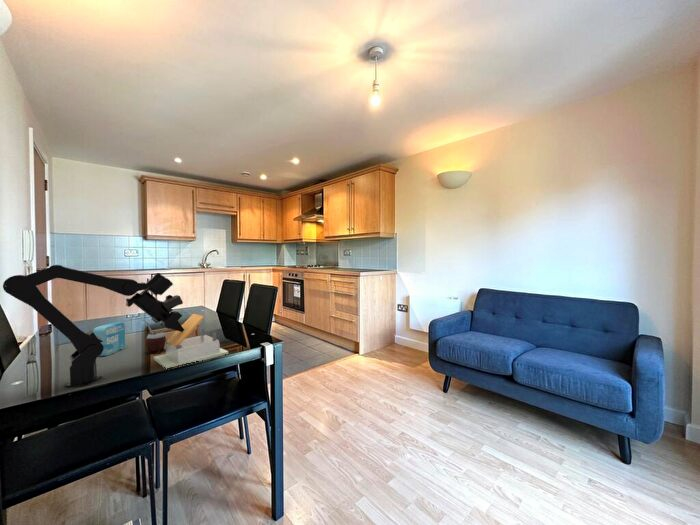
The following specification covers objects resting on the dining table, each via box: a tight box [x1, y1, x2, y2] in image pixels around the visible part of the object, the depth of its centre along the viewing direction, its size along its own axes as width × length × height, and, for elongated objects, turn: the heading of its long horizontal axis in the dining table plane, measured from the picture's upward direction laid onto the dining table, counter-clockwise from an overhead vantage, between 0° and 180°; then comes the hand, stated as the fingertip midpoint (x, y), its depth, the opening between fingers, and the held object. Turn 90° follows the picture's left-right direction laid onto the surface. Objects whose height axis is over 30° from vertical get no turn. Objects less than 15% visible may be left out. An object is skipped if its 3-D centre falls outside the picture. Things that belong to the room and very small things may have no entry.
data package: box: [92, 321, 126, 357], centre depth 126 cm, size 12×4×12 cm, turn 4°
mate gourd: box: [139, 317, 167, 355], centre depth 124 cm, size 8×8×15 cm
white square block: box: [165, 327, 221, 363], centre depth 117 cm, size 15×15×8 cm
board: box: [153, 347, 229, 370], centre depth 117 cm, size 22×17×1 cm
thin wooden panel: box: [166, 313, 206, 347], centre depth 116 cm, size 14×11×1 cm
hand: (183, 330), depth 115 cm, fingers closed, pressing on thin wooden panel
